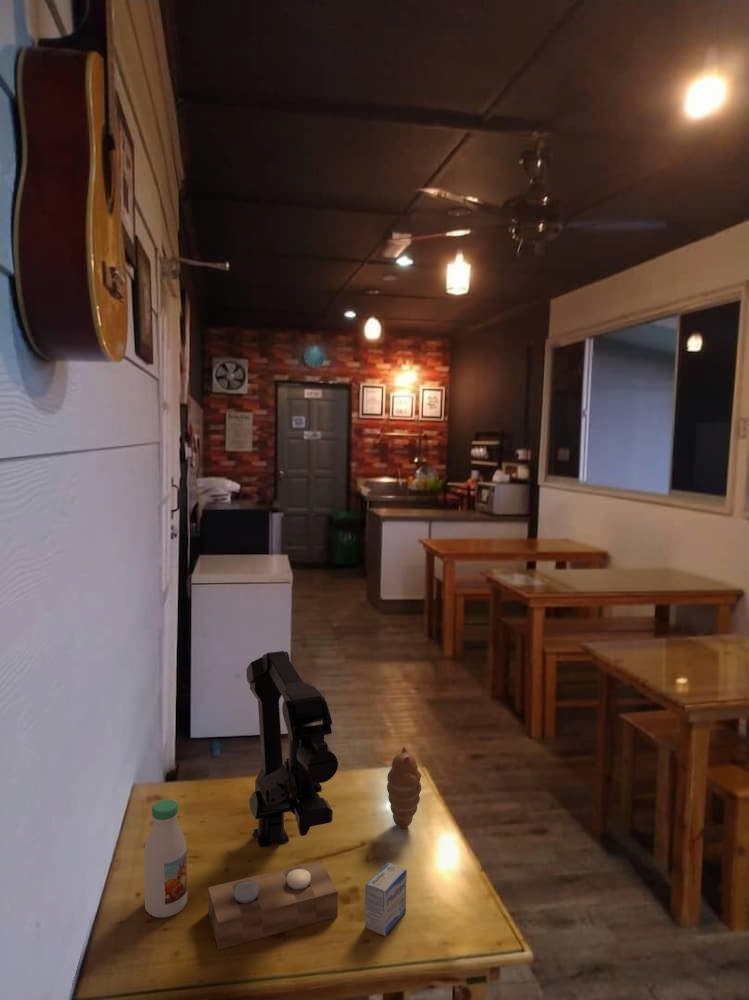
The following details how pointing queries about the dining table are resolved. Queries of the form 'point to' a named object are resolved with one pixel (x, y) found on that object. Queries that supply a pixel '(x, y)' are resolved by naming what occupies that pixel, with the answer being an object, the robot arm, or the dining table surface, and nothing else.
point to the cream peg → (298, 879)
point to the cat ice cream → (403, 788)
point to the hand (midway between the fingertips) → (302, 834)
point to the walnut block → (271, 906)
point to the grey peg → (245, 892)
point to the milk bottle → (165, 862)
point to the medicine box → (385, 898)
